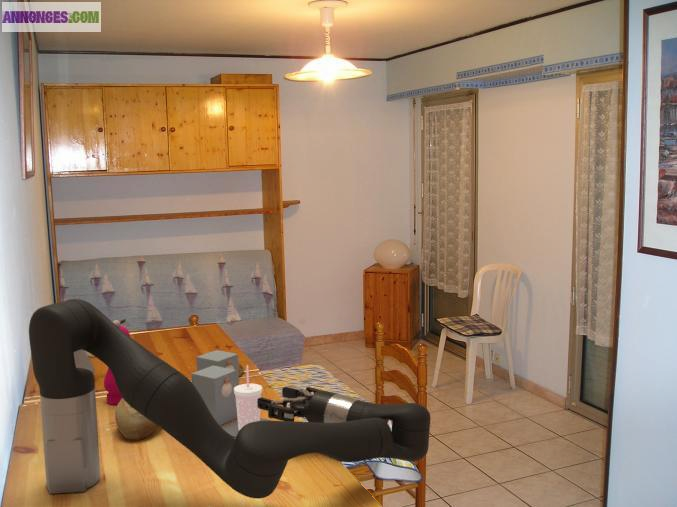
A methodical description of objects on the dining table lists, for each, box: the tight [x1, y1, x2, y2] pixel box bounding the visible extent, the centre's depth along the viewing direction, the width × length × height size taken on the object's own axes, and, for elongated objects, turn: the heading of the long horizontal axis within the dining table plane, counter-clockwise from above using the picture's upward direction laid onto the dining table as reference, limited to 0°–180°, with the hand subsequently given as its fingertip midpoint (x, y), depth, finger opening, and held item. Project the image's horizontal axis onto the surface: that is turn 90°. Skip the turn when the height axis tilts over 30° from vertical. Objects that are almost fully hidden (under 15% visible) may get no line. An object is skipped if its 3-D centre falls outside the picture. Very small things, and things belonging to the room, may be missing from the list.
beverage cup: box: [234, 364, 263, 430], centre depth 149 cm, size 6×6×14 cm
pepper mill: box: [103, 319, 131, 406], centre depth 167 cm, size 7×7×20 cm
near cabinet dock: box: [190, 365, 273, 438], centre depth 152 cm, size 19×11×11 cm, turn 56°
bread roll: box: [114, 398, 158, 441], centre depth 150 cm, size 10×15×8 cm, turn 18°
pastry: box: [238, 360, 245, 377], centre depth 186 cm, size 9×7×4 cm
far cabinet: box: [196, 349, 240, 386], centre depth 168 cm, size 8×7×11 cm
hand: (271, 396), depth 146 cm, fingers open, 8 cm apart
